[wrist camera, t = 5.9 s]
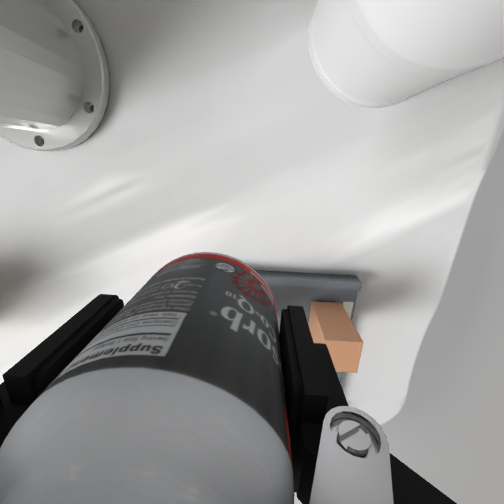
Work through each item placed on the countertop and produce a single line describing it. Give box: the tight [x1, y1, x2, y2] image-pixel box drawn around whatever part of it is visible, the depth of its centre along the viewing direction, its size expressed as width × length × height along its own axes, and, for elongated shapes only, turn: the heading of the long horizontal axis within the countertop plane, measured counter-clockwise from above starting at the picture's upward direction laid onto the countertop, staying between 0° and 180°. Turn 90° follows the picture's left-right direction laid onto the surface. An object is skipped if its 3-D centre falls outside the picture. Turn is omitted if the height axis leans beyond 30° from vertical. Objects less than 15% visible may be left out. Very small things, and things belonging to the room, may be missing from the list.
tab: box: [308, 301, 363, 373], centre depth 24 cm, size 3×3×6 cm
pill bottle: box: [0, 252, 294, 504], centre depth 7 cm, size 6×6×10 cm
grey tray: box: [255, 270, 362, 381], centre depth 30 cm, size 18×15×2 cm
